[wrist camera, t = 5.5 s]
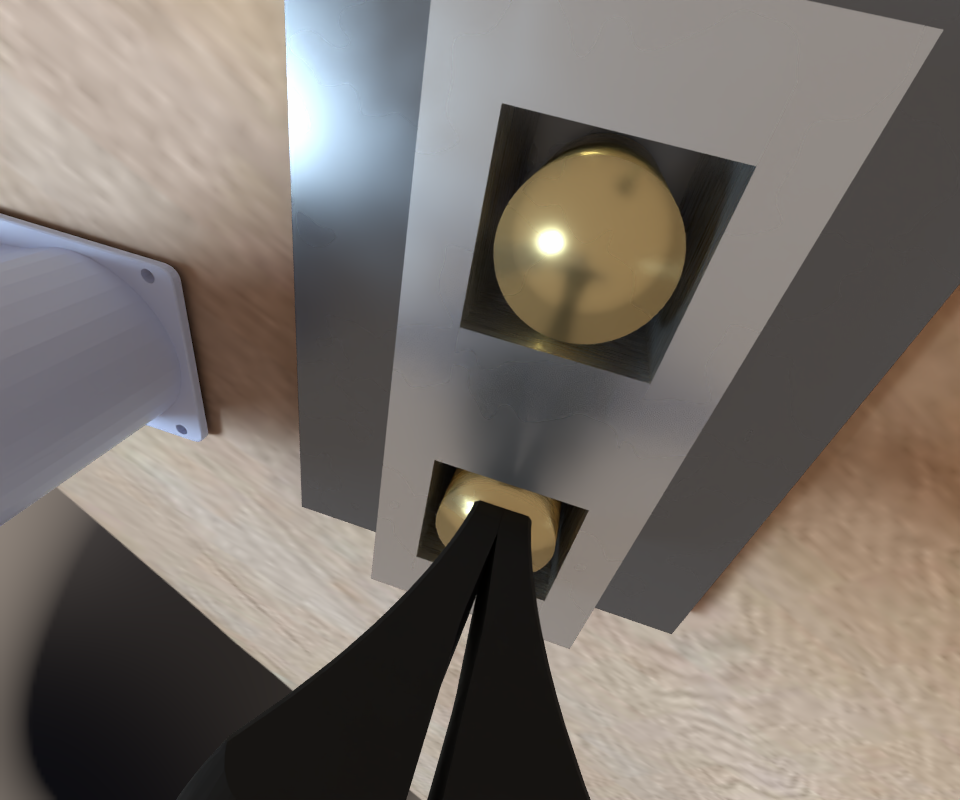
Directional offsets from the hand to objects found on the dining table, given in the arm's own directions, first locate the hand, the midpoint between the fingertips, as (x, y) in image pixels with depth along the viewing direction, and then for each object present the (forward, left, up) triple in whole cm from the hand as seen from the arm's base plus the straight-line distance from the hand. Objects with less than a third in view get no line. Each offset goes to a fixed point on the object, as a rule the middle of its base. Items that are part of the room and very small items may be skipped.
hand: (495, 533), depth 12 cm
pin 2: (0, +7, -4) cm, 8 cm away
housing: (0, +3, -4) cm, 6 cm away
